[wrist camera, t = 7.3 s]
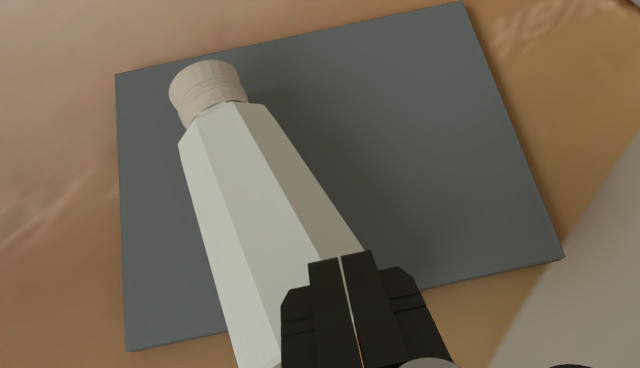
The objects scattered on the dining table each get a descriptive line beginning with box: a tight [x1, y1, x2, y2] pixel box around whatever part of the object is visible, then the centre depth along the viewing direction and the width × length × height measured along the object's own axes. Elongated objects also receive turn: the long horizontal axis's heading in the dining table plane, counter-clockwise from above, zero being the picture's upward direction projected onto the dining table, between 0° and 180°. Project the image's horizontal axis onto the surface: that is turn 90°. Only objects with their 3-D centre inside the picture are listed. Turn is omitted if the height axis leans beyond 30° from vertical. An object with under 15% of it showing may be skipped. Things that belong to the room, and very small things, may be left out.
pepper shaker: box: [168, 60, 365, 368], centre depth 17 cm, size 5×5×11 cm
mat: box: [115, 0, 565, 352], centre depth 19 cm, size 12×16×1 cm
